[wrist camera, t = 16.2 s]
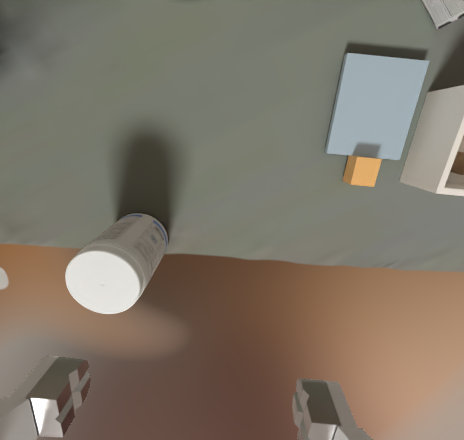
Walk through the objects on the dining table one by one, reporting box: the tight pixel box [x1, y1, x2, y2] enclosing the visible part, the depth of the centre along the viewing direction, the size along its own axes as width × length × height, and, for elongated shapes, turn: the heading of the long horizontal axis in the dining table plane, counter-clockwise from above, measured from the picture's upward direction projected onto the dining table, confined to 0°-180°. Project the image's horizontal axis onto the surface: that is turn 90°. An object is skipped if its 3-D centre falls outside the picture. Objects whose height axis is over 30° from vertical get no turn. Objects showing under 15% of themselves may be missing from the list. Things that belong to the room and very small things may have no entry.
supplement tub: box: [65, 213, 168, 314], centre depth 38 cm, size 10×10×15 cm
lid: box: [325, 53, 429, 187], centre depth 37 cm, size 17×11×4 cm, turn 175°
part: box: [450, 151, 464, 175], centre depth 38 cm, size 3×3×3 cm
